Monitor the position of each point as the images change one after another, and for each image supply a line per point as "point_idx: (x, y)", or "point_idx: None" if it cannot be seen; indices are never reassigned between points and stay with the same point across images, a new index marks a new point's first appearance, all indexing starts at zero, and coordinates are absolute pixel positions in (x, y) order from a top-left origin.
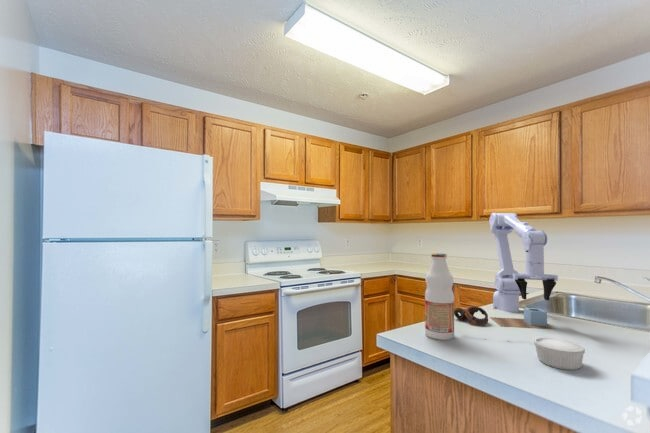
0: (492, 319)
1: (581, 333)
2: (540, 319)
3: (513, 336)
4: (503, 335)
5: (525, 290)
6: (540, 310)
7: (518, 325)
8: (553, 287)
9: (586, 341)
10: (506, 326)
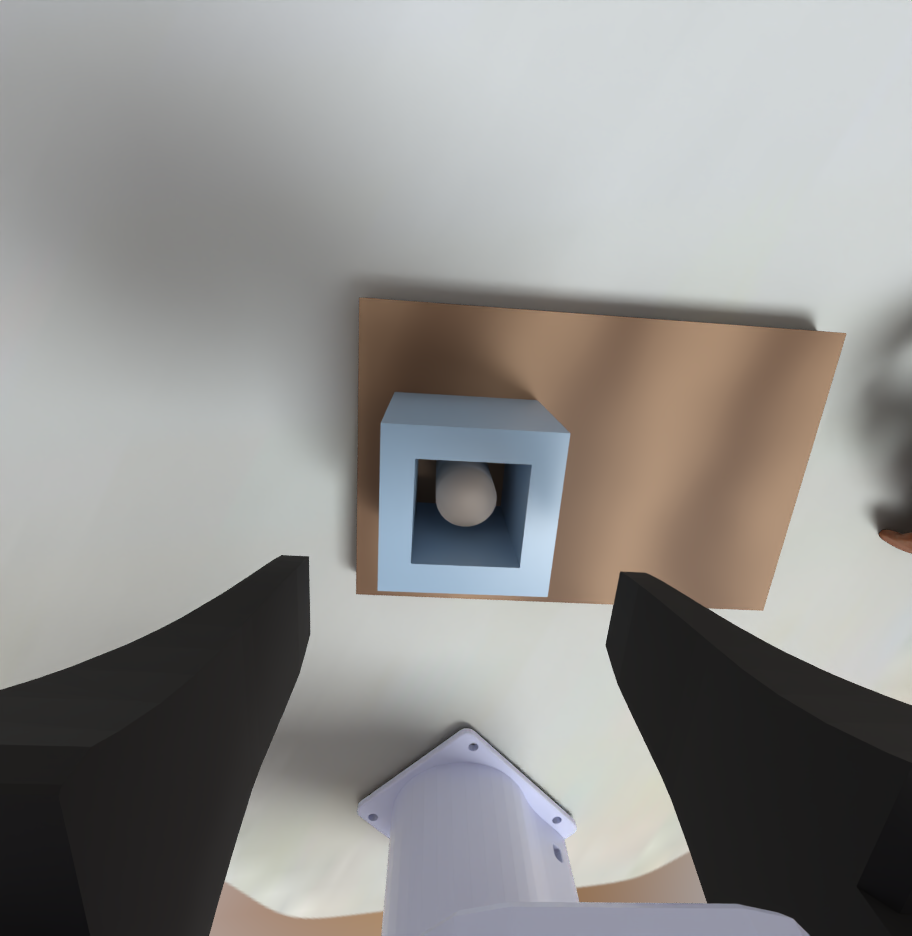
0: (779, 546)
1: (126, 336)
2: (453, 407)
3: (810, 165)
4: (884, 187)
5: (730, 643)
6: (412, 504)
7: (655, 387)
8: (59, 673)
9: (196, 78)
10: (792, 338)
